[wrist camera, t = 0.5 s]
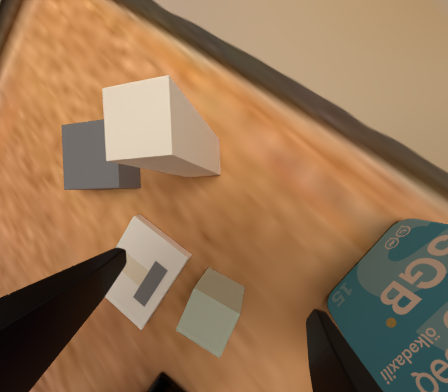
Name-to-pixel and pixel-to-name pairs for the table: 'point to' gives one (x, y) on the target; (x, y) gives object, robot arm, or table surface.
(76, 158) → the charcoal slab
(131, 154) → the cream block
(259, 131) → the table surface
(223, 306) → the sage cube
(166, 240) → the tile
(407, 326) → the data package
